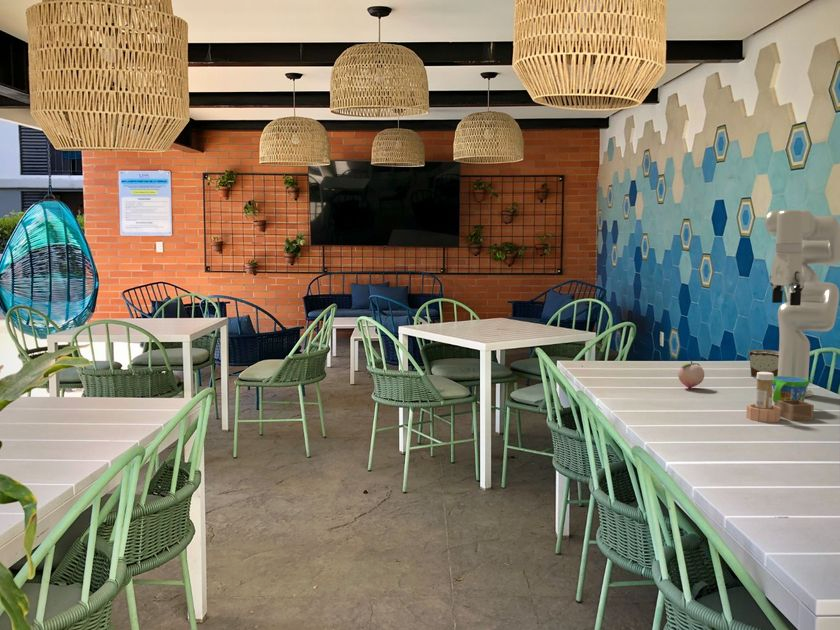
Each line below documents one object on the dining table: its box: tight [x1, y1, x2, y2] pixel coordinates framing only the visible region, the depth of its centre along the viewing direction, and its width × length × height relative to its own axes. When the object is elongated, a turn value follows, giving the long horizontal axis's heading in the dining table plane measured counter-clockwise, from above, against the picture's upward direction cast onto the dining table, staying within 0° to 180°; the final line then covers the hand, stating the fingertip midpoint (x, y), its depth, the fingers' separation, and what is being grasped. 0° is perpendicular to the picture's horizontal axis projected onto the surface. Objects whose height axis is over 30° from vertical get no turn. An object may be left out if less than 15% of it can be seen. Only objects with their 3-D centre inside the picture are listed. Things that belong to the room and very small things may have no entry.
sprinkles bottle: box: [755, 372, 774, 410], centre depth 238 cm, size 5×5×13 cm
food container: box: [747, 349, 779, 378], centre depth 312 cm, size 12×6×10 cm, turn 58°
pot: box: [745, 403, 781, 423], centre depth 239 cm, size 9×9×4 cm
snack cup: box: [772, 376, 810, 406], centre depth 251 cm, size 16×10×10 cm
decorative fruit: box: [677, 360, 705, 389], centre depth 287 cm, size 9×8×10 cm
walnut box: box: [777, 400, 815, 422], centre depth 240 cm, size 7×7×5 cm
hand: (785, 304), depth 258 cm, fingers open, 9 cm apart
